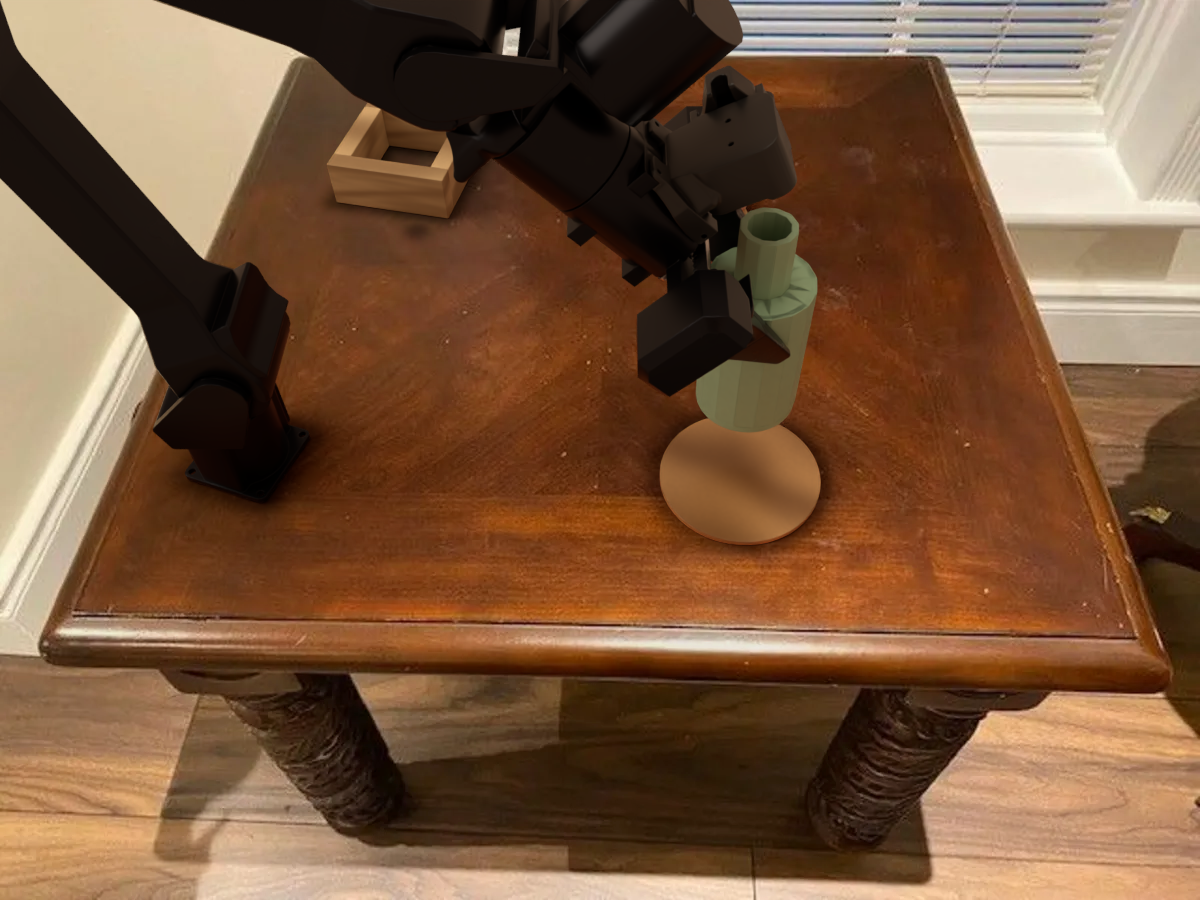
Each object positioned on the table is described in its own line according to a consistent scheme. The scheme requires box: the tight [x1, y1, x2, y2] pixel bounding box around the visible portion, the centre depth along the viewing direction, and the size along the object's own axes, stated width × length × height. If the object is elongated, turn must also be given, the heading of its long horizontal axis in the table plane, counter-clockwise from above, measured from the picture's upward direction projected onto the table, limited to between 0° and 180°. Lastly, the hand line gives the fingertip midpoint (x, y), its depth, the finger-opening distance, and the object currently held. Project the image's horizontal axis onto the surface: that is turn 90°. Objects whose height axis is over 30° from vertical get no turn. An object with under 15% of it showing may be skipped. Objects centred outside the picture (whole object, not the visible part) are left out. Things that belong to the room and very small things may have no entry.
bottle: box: [695, 207, 818, 433], centre depth 62 cm, size 6×6×14 cm
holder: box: [326, 102, 469, 219], centre depth 92 cm, size 10×10×4 cm
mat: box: [659, 417, 822, 546], centre depth 71 cm, size 11×11×1 cm
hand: (778, 317), depth 62 cm, fingers closed on bottle, 6 cm apart
